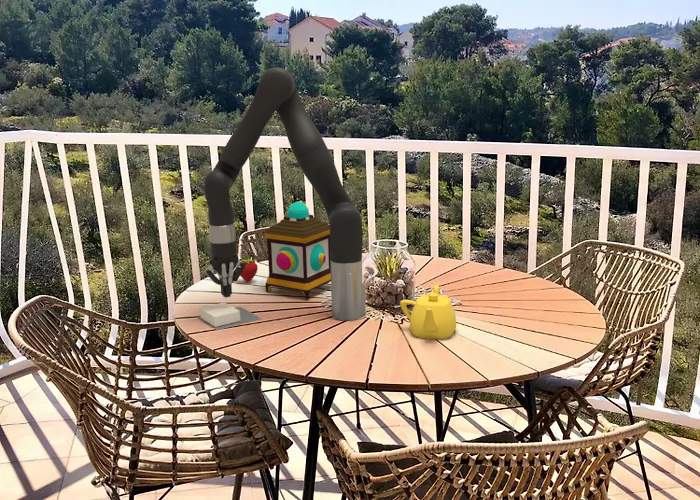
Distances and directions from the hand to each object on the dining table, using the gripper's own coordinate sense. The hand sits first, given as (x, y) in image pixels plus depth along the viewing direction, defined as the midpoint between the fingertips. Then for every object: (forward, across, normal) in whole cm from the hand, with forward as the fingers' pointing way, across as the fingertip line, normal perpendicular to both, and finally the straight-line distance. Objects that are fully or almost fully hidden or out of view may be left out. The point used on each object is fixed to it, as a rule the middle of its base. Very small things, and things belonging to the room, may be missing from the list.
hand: (226, 296), depth 194 cm
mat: (+7, 0, 0) cm, 7 cm away
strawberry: (+7, +22, +29) cm, 37 cm away
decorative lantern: (+7, +32, +10) cm, 34 cm away
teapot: (+7, +39, -44) cm, 59 cm away
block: (+5, +1, 0) cm, 5 cm away
